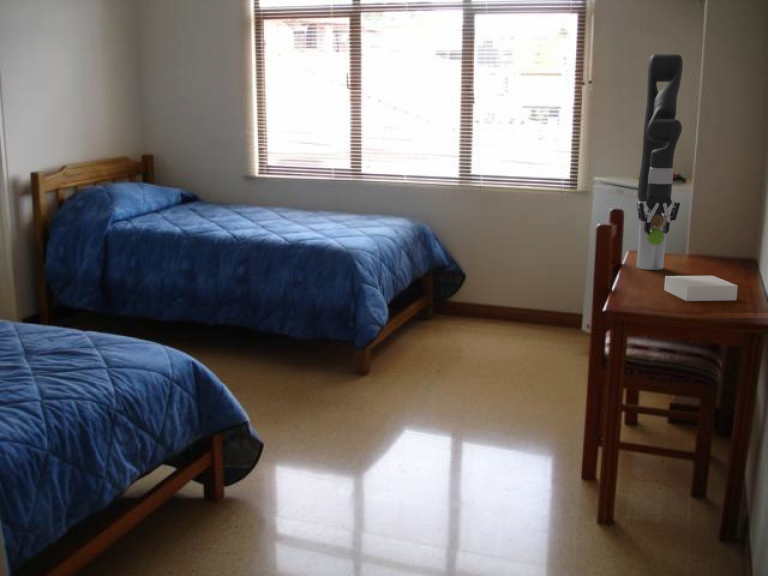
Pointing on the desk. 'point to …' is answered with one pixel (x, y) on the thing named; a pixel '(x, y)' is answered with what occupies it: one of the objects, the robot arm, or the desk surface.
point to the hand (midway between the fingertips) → (656, 233)
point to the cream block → (700, 288)
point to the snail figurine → (656, 229)
